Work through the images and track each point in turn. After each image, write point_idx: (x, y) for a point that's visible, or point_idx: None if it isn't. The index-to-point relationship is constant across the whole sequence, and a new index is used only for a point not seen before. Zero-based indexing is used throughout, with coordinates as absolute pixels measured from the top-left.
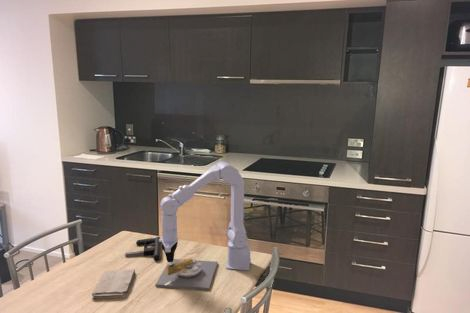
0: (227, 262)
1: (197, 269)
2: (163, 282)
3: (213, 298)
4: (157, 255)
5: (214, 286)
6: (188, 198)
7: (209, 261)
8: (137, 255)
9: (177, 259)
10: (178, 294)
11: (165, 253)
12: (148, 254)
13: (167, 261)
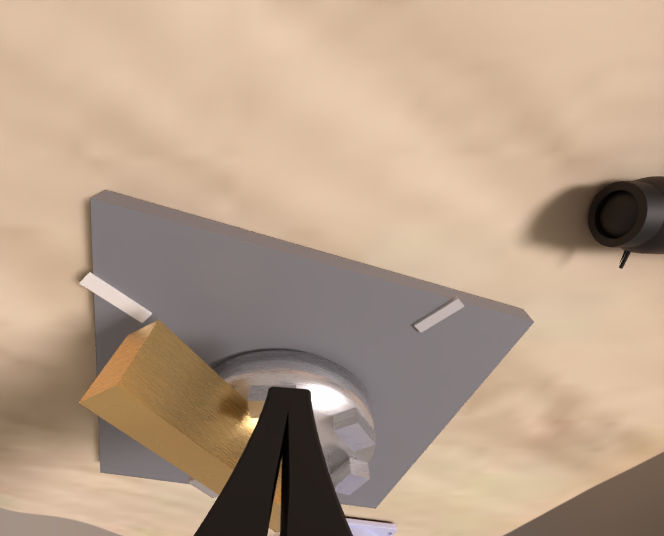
0: (362, 525)
1: (212, 493)
2: (132, 265)
3: (38, 464)
4: (634, 233)
5: None
6: None
7: (389, 487)
8: None
9: (494, 362)
10: (30, 339)
11: (204, 522)
12: None
13: (269, 392)
